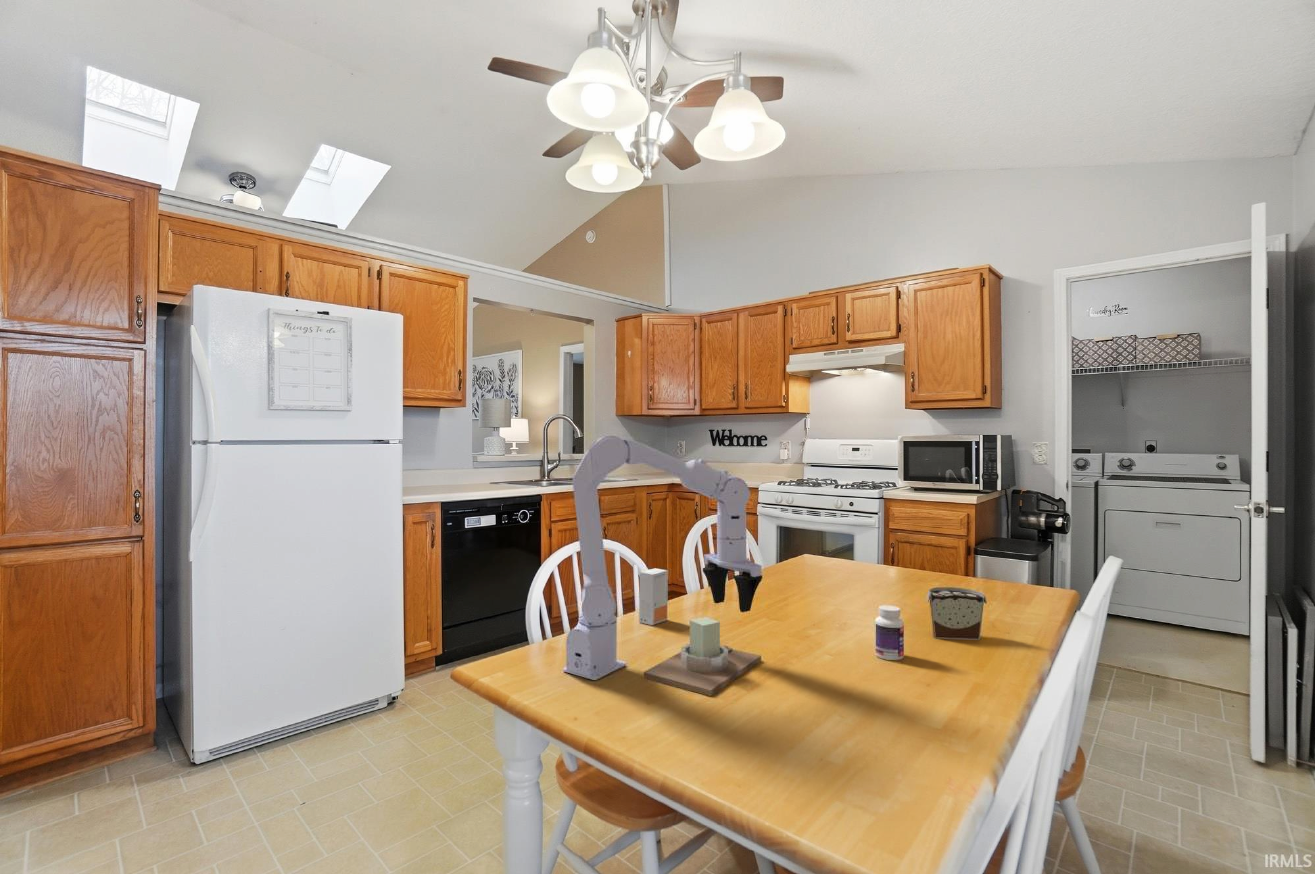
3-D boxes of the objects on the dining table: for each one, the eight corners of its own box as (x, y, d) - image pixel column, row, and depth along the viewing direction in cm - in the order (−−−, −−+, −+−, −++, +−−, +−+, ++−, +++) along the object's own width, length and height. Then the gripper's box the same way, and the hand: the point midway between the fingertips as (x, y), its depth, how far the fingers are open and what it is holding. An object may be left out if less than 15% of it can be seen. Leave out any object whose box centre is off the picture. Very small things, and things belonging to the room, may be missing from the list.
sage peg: (719, 664, 114) (719, 621, 114) (703, 669, 112) (703, 625, 112) (706, 658, 117) (706, 616, 117) (689, 662, 115) (689, 620, 115)
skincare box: (652, 626, 141) (653, 574, 141) (638, 622, 143) (638, 572, 143) (668, 620, 146) (668, 570, 146) (654, 616, 148) (654, 567, 148)
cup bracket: (710, 696, 102) (710, 675, 102) (643, 677, 110) (643, 658, 110) (761, 660, 119) (761, 642, 119) (699, 646, 127) (699, 629, 127)
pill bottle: (906, 662, 118) (906, 612, 118) (877, 660, 119) (877, 610, 119) (901, 652, 124) (901, 604, 124) (873, 650, 125) (873, 603, 125)
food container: (974, 631, 138) (975, 587, 138) (986, 640, 131) (987, 594, 131) (918, 629, 139) (918, 585, 139) (927, 638, 133) (927, 592, 133)
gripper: (773, 540, 115) (773, 611, 115) (722, 530, 127) (722, 595, 127) (745, 544, 111) (746, 618, 111) (696, 534, 123) (696, 601, 123)
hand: (731, 606), depth 119 cm, fingers open, 7 cm apart
